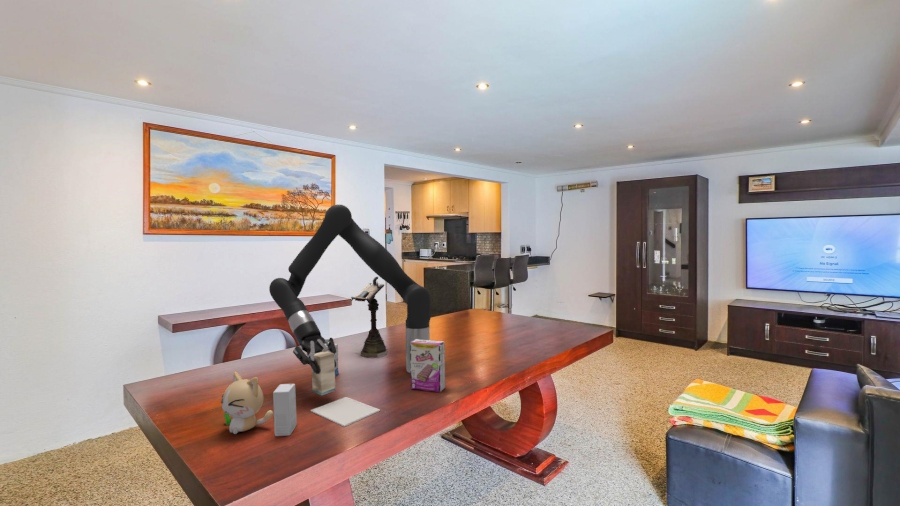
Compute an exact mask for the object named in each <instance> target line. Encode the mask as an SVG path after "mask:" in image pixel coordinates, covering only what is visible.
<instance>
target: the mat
mask: <svg viewBox="0 0 900 506" xmlns="http://www.w3.org/2000/svg"><path fill="white" fill-rule="evenodd" d="M380 411H381V409H379V408H377V407H374V406H371V405H368V404H366V403H364V402H360V401H359V400H356V399H354V398H350V397H347V396H344V397H341V398H339V399H336V400H334V401H332V402H329V403H326V404H324V405H321V406H318V407H315V408H312V409H310V413H313V414H316V415H317V416H320V417H322V418H324V419H326V420H329V421H330V422H333V423H335V424H336V425H339V426H342V427H344V428H345V427H347V426H349V425H352V424H354V423H357V422H358V421H359V422H360V420H363V419H366V418H368V417H370V416H372V415H374V414H376V413H379V412H380Z"/></svg>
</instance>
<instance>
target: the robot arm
mask: <svg viewBox="0 0 900 506" xmlns="http://www.w3.org/2000/svg"><path fill="white" fill-rule="evenodd" d="M338 236H339V237H341V239H343V240H344V241H345V242H346V243H347V244H348V245H349V246H350V247H351V248H352V250H353V251H354V252H355V253H356V254H357V256H358V257H359V258H360V259H361V260H362V261H363V262H364V264H365V265H367V266H368V267H369V268H370V269H371V270H372V272H374V273H375V274H376V275H378V276H377V277H380V278H381V279H382V280H383V281H385V282H386V283H387V284H388V285H390V286H391V287H392V288H393V289H394V290H395V292H396V293H397V294H398V295H399V297H401V299H402V300H403V301H404V303H405V304H406V319H405V357H406V358H405V363H406V365H405V367H406V372H407V373H409V374H411V370H410V342H411V341H413V340H415V339H421V340H431V339H430V335H431V334H430V333H431V332H430V322H431V316H432V315H431V314H432V309H431V307H432V298H431V294H430V291H429V290H428V289H427V288H426V287H424V286H422V285H421V284H418V283H417V282H416V281H415V280H413V279H412V278H411V277H410V276H409V275H408V274H407V273H406V272H405V270H403V268H402V267H401V265H400V263H399V262H398V261H397V260H396V258H395V257H394V256H393V255H392V253H391V252H390V251H389V250H388V249H387V248H386V247H385V246H384V245H382V243H380V242H379V241H378V240H377V239H375V238H374V237H372V236H371V235H369V234H368V233H367V232H365V231H364V230H363V229H362V228H361V227H360V226H359V225H358V224H357V223H356V222H355V220H354V219H353V217H352V212H351V210H350V209H349V207H348V206H346V205H343V204H333V205H331V206H330V207H329V208H328V209H327V210H326V212H325V213H324V218H323V220H322V222H321V224H320V226H319V228H318V229H317V230H316V232H315V233H314V235H313V236H312V238H311V239H310V240H309V241H308V242H307V243H306V244H305V245H304V247H303V248H302V249H301V250H300V251H299V253H298V254H297V255H296V257H295V258H294V259H293V260H292V261H291V263H290V264H289V266H288V272H289V273H290V276H289V277H288V279H286V278H283V277H277V278H274V279H273V280H272V281H270V282H271V283H270V284H269V287H268V289H269V294H270V296H271V298H272V300H273V301H274V302H275V303H276V305H277V306H278V307H279V308H280V309H281V310H282V312H283V314H284V316H285V318H286V320H287V322H288V324H289V328H290V330H291V332H292V334H293V335H294V338H295V339H296V341H297V343H298V345H299V346H298V345H296V346H295V347H294V349H293V351H292V353H293V354H294V356H295V357H296V358H297V359H298V360H299V362H300V363H301V364H302V365H304V366H305V365H309V366H310V368H311V371H312V370H313V372H314V373H316V374H319V373H320V371H321V369H320V367H319V365H318V363H317V361H315V357H314V355H315V353H319V352H322V350H323V349H324V351H325V352H331V353H334V355H335V353H336V348H335V344H336V343H335V341H334V338H333V337H329V338H327V339H325V337H323V336H322V334H321V330H320V328H319V327H318V325H317V323H316V321H315V319H314V318H313V316H312V314H311V313H309V311H308V309H307V307H306V304H305V303H304V301H302V300H301V299H300V298H299V295H300V294H301V292H302V290H303V287H304V285H305V283H306V280H307V277H309V275H310V274H311V273H312V271H313V269H314V268H315V266H317V264H318V262H319V261H320V259H321V258H322V256H323V255H324V253H325V251H326V250H327V249H328V247H329V246H331V244H332V243H333V242H334V240H335V239H336V238H337V237H338ZM325 344H326V345H325ZM327 346H328V347H327ZM305 353H306V354H305ZM334 364H335V367H336V362H335V359H334Z"/></svg>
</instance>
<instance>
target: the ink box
mask: <svg viewBox="0 0 900 506" xmlns="http://www.w3.org/2000/svg"><path fill="white" fill-rule="evenodd" d="M334 344H335V348H336V353H335V355H334V359H335V362H336V367H335V377H336V376H338V374H339V344H338V343H334ZM325 345H326V344H325ZM327 347H328V346H327ZM322 351H324V349H323V350H322Z"/></svg>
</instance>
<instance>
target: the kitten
mask: <svg viewBox="0 0 900 506" xmlns="http://www.w3.org/2000/svg"><path fill="white" fill-rule="evenodd" d="M232 377H233V379H232V383H230V384H229V386H227V387H226V389H225V391H224V392H223V394H222V395H221V400H220V403H221V407H222V411H223V412H224V420H225V425H226V426H228V425H229V426H228V429H229V433H231V434H234V435H237V434H238V433H240V432H246V431H249V430H252V429H253V428H254V427H255V426H258V425H263V424H264V423H266V422H268V421H269V420H270V419H272V418H273V417H274V410H271V409H270V410H268V411H267V410H266V411H267V412H266V413H265V415H264V417H262V418H259V419H257V417H256V414H257V413H258V412H259V410H260V409H261V408H262V406H263V403H264V393H263V390H262V388H261V386H260V385H259V379H258V377H257V376H255V377H252V378H251V379H247V378H245V379H243V377H242V376H241V374H239V373H238V372H237V371H234V372H233V375H232ZM231 417H232V419H231Z"/></svg>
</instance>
